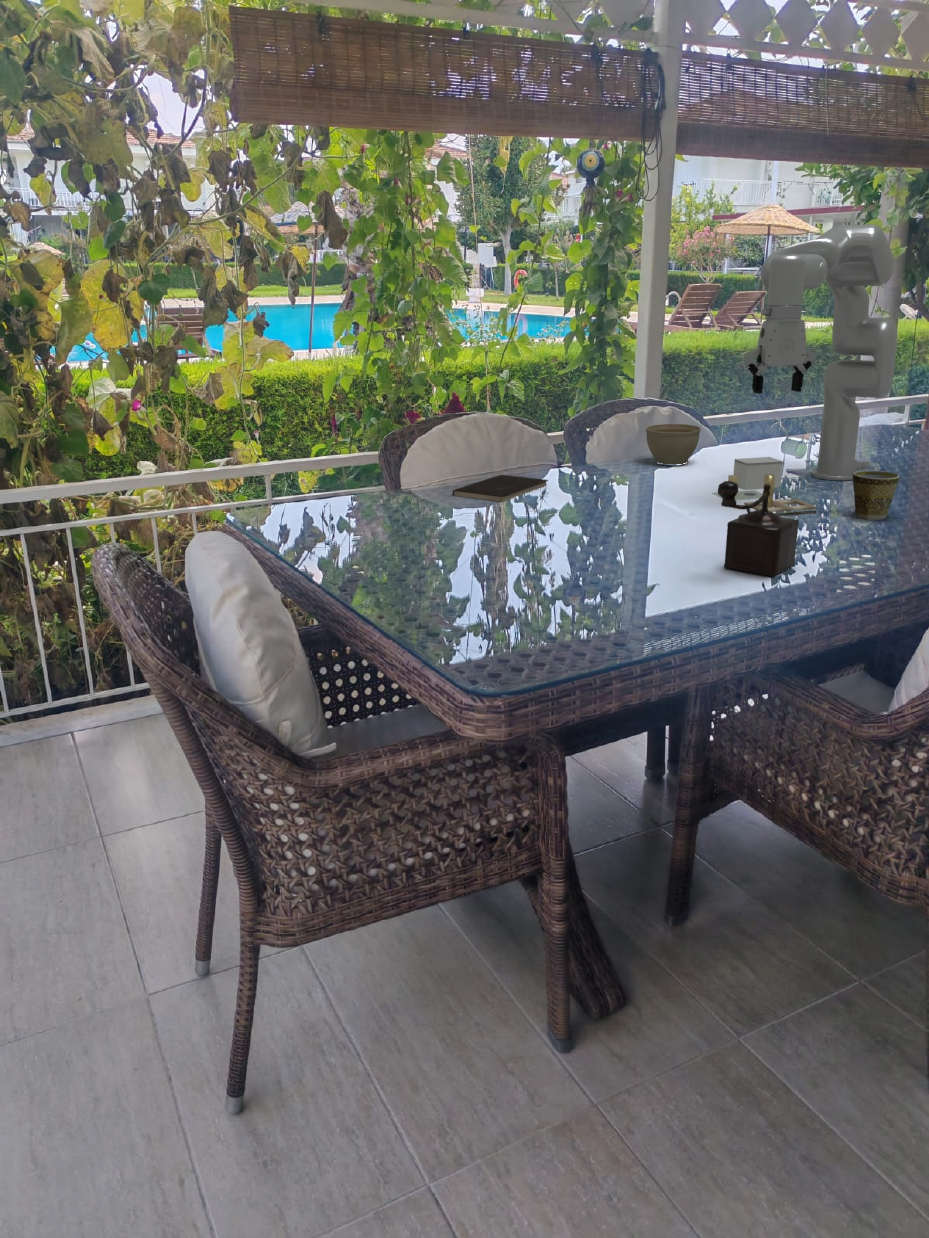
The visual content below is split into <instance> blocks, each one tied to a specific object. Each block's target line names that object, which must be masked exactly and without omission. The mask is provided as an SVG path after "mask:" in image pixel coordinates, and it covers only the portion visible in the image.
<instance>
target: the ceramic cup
mask: <svg viewBox="0 0 929 1238" xmlns="http://www.w3.org/2000/svg"><path fill="white" fill-rule="evenodd" d="M899 482H900V474H898V473H895V472H892V471H886V470H874V469H873V470H871V469H870V470H869V469H868V470H866V469H863V470H857V471H856V472H854V473H853V479H852V488H853V495H854V496H853V497H854V513H855V515H856V517H857V518H858V519H862V520H869V521H880V520H885V519H886V518H887V517H888V514H889V512H890V507H891V506H892V502H893V498H894V495H895V493H896V490H897V487H898V485H899Z"/></svg>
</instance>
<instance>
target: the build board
mask: <svg viewBox="0 0 929 1238" xmlns="http://www.w3.org/2000/svg"><path fill="white" fill-rule="evenodd" d="M753 502H754V501H751V502H750V501H747V502H744V503H743V505H747V504H751V503H753ZM789 504H790V505H789ZM791 504H797V505H791ZM752 509H753V510H754V511H755V510H759V509H762V503H760V504H759V505H757V506H755V507H753V508H752ZM767 509H768V511H771V512H773V513H775V514H777V515H778V516H779V517H787V516H789V517H790V516H799V515H814V514H817V506H816V505H813V504H811V503H808V502H805V501H803V500H800V499H798V498H793V499H792V498H791V499H776V500H775V499H773V504H772V507H771V508H767ZM804 510H805V511H804ZM776 512H777V513H776Z"/></svg>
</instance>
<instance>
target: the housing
mask: <svg viewBox="0 0 929 1238" xmlns="http://www.w3.org/2000/svg"><path fill="white" fill-rule="evenodd" d="M733 463H734V465H733V475H736V476H738V488H740V489H742V490H743V491H747V490H763V487H764V476H765V474H773V475H775V483H774V489H777V488H778V489H779V488H781V487H782V486H781V485H782V476H783V464H784V461H782V460H779V459H777V458H774V457H771V456H766V457H765V456H762V457H749V458H745V457H744V458H735V459H734V462H733Z"/></svg>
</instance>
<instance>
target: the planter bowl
mask: <svg viewBox="0 0 929 1238" xmlns="http://www.w3.org/2000/svg"><path fill="white" fill-rule="evenodd" d="M701 429H702V428H701V427H700V426H698V425H693V424H686V423H685V424H684V423H663V424H661V423H659V424H653V425H648V426H646V427H645V432H646V442H647V446H648V449H649V452H650V453H651V455H652V456H653V458H654V460H655V463H656V462H659V463H663V464H683V463H686V462H689V459H690V458H691V457H692V455H693V454H694V452H695V451H696V449H697V446H698V443H699V440H700V433H701Z"/></svg>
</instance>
